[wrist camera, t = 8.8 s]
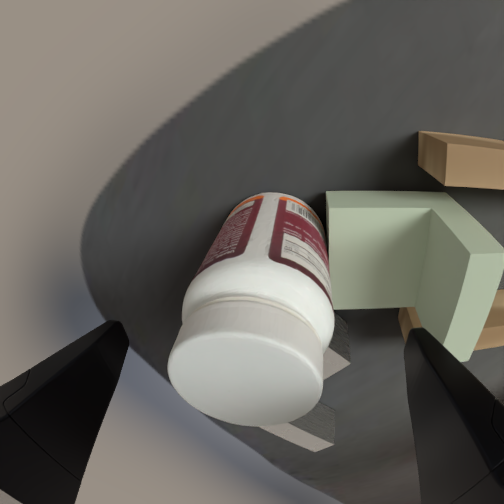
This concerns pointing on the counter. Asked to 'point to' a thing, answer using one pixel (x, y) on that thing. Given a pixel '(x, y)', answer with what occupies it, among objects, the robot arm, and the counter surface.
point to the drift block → (414, 260)
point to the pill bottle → (257, 316)
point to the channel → (463, 175)
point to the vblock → (321, 416)
